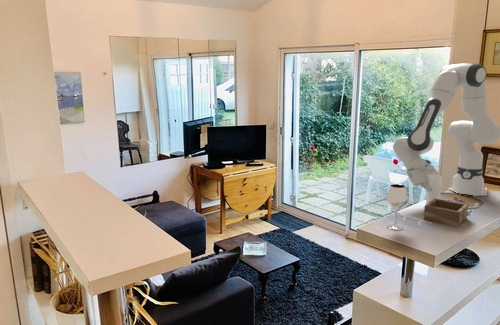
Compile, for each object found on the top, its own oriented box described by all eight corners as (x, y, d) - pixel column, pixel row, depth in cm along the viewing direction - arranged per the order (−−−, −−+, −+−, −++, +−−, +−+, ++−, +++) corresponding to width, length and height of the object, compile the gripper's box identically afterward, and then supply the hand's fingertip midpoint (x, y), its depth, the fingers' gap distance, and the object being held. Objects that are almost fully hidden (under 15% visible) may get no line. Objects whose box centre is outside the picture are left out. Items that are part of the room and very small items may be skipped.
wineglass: (380, 227, 165) (383, 185, 161) (391, 222, 170) (393, 182, 166) (398, 232, 159) (401, 189, 155) (409, 227, 164) (412, 186, 160)
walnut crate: (433, 211, 183) (434, 198, 182) (466, 218, 174) (468, 204, 173) (423, 219, 173) (424, 205, 171) (458, 227, 164) (459, 212, 162)
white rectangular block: (436, 204, 193) (439, 174, 190) (441, 208, 187) (444, 178, 183) (422, 203, 194) (424, 174, 191) (427, 208, 187) (429, 178, 184)
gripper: (409, 165, 185) (428, 190, 179) (431, 160, 197) (449, 182, 192) (400, 173, 189) (418, 197, 184) (422, 167, 202) (439, 189, 196)
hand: (434, 189), depth 188 cm, fingers closed on white rectangular block, 6 cm apart
